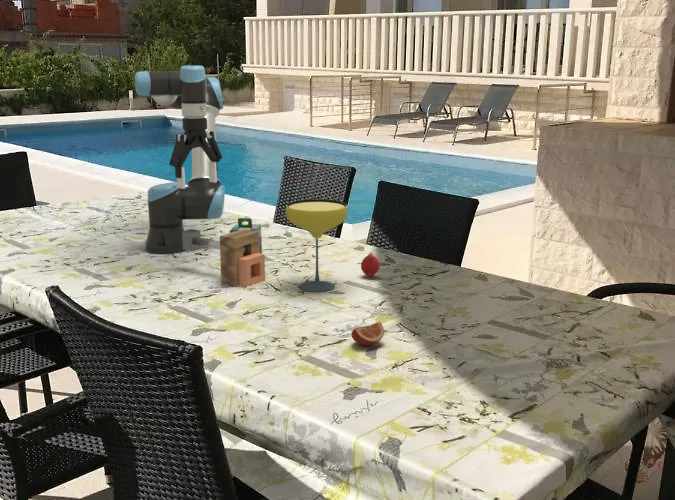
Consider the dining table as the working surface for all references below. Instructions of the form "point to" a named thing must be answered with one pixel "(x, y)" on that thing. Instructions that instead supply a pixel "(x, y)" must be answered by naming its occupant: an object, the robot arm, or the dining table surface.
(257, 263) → the orange boxy part
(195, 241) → the shaft
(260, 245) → the chalk box
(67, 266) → the dining table surface
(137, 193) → the dining table surface
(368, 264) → the onion
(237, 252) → the bearing block
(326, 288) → the cocktail glass
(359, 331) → the fruit slice
